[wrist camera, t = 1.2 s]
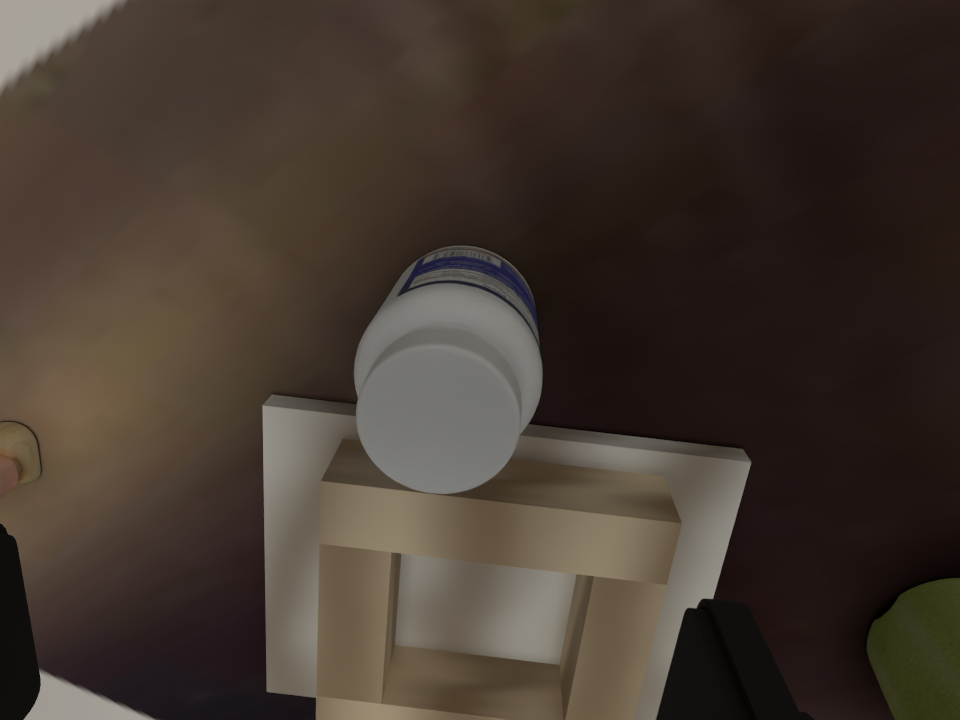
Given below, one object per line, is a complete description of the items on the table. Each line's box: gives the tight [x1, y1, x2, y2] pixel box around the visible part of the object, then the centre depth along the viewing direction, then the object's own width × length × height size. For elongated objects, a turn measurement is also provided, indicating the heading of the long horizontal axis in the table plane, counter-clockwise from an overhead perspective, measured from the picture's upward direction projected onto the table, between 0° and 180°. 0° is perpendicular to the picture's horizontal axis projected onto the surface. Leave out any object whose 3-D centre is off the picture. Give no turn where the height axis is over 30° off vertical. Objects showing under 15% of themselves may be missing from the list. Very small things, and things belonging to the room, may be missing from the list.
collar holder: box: [263, 395, 751, 720], centre depth 26 cm, size 18×14×4 cm
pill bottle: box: [354, 246, 543, 494], centre depth 20 cm, size 5×5×9 cm
